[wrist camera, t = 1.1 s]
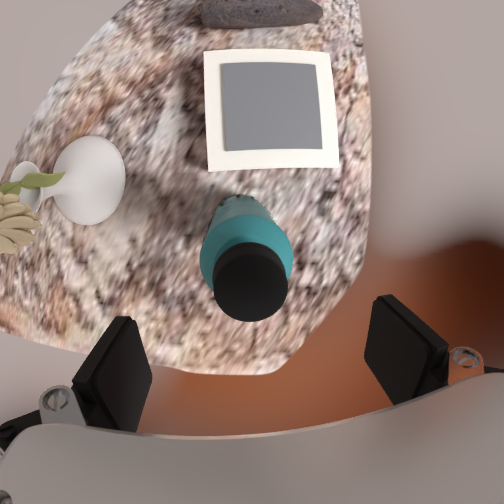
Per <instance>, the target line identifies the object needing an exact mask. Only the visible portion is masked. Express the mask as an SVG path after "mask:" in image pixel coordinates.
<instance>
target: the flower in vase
mask: <svg viewBox="0 0 504 504" xmlns="http://www.w3.org/2000/svg"><path fill="white" fill-rule="evenodd" d="M124 188H125V167H124V162H123V159H122V157H121V155H120V153H119V151H118V149H117V148H116V147H115V146H114V145H113V144H112V143H111V142H110V141H109V140H107V139H105V138H103V137H100V136H96V135H88V136H84V137H81V138H79V139H77V140H75V141H73V142H72V143H70V144H69V145H68V146H67V147H66V148H65V149H64V150H63V151H62V152H61V154H60V155H59V157H58V159H57V161H56V163H55V166H54V169H53V174H45V173H42V172H40V170H39V169H38V167H37V166H36V165H35V164H34V163H32V162H30V161H24V162H21V163H20V164H18V165H17V166H16V168H15V169H14V171H13V173H12V175H11V177H10V181H9V182H5V183H3V184H2V185H1V186H0V254H1V253H4V252H6V253H8V254H15V253H17V247H16V246H15V244H18V245H21V246H27V245H29V244H30V242H32V241H35V240H36V236H35V235H33V234H32V232H31V231H30V230H28V229H36V228H39V227H40V226H41V223H40V222H39V221H37V219H38V216H37V214H35V213H36V212H37V210H38V209H39V207H40V205H41V202H42V201H43V200H45V199H47V198H49V197H51V196H53V197H54V200H55V203H56V205H57V207H58V208H59V210H60V211H61V213H62V214H63V215H64V216H65V217H66V218H68V219H69V220H71V221H73V222H75V223H78V224H81V225H94V224H97V223H100V222H102V221H104V220H105V219H107V218H108V217H109V216H110V215H111V214H112V213H113V212H114V211H115V209H116V208H117V206H118V205H119V203H120V201H121V198H122V195H123V192H124ZM14 243H15V244H14Z"/></svg>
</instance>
